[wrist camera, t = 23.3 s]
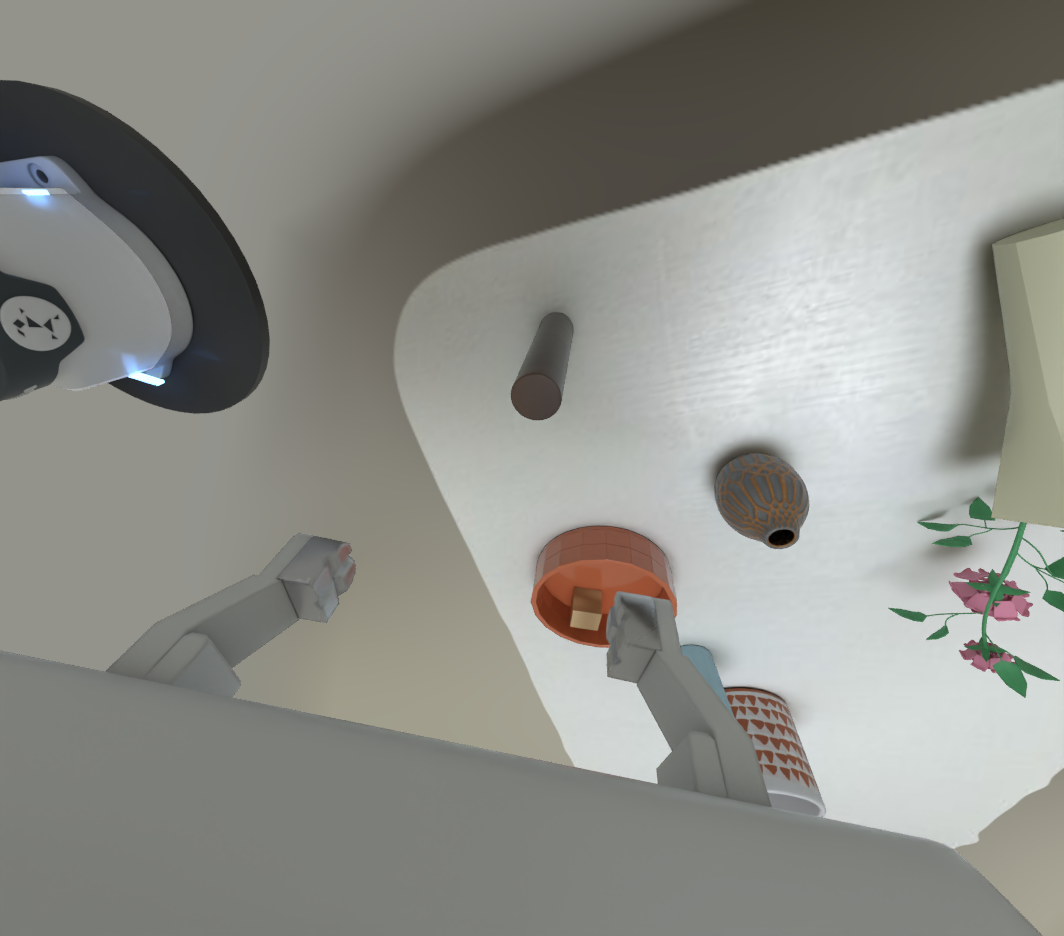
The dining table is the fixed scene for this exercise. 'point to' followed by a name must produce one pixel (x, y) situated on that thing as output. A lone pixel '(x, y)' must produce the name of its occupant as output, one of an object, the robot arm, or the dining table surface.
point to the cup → (706, 669)
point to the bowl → (596, 576)
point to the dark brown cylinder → (544, 369)
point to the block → (586, 608)
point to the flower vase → (1021, 441)
